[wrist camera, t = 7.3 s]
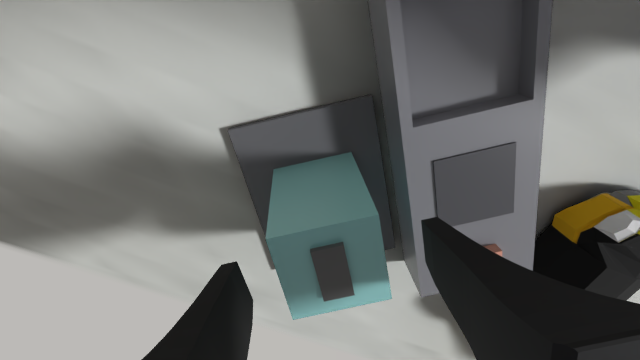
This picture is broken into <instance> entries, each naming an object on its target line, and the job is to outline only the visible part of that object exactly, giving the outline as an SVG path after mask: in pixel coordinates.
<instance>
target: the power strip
mask: <svg viewBox="0 0 640 360" xmlns="http://www.w3.org/2000/svg"><path fill="white" fill-rule="evenodd" d="M552 4H553V0H368V5H369V12H370V19H371V27H372V34H373V41H374V48H375V55H376V62H377V69H378V76H379V84H380V91H381V98H382V105H383V112H384V119H385V126H386V133H387V140H388V148H389V155H390V162H391V169H392V176H393V183H394V190H395V197H396V204H397V212H398V219H399V226H400V233H401V240H402V247H403V254H404V261H405V263H406V265H407V268H408V270H409V272H410V274H411V276H412V279H413V281H414V283H415V285H416V287H417V289H418V292H419V294H420V296H421V297H425V296H429V295H434V294H438V293H439V291H438V289H437V287H436V286H435V283H434V281H433V279H432V276H431V274H430V272H429V269H428V267H427V265H426V262H425V253H424V244H423V234H422V225H421V220H424V219H429V218H433V217H438V218H440V219H441V220H443V221H444V222H446V223H447V224H449V225H450V226H452V227H453V228H455V229H456V230H458V231H459V232H461V233H462V234H464V235H466V236H467V237H469V238H470V239H472V240H473V241H475V242H477V243H478V244H480V245H482V246H483V247H485V248H487V249H489V250H491V251H492V252H494V253H496V254H498V255H500V256H502V257H504V258H506V259H508V260H510V261H512V262H514V263H516V264H518V265H520V266H523V267H525V268H527V269H529V270H532V271H533V260H534V247H535V233H536V220H537V206H538V193H539V179H540V166H541V152H542V139H543V125H544V112H545V98H546V85H547V71H548V58H549V44H550V31H551V17H552Z"/></svg>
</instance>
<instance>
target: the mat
mask: <svg viewBox="0 0 640 360" xmlns="http://www.w3.org/2000/svg"><path fill="white" fill-rule="evenodd" d="M228 133H229V136H230V139H231V141H232V144H233V147H234V150H235V153H236V155H237V158H238V161H239V164H240V167H241V169H242V172H243V175H244V178H245V181H246V183H247V186H248V189H249V192H250V195H251V197H252V200H253V203H254V206H255V209H256V211H257V214H258V217H259V220H260V223H261V225H262V228H263V231H264V234H265V237H266V230H267V222H268V213H269V204H270V196H271V187H272V179H273V170H274V169H277V168H282V167H286V166H290V165H295V164H299V163H304V162H308V161H313V160H317V159H322V158H326V157H331V156H335V155H340V154H344V153H349V152H352V155H353V157H354V159H355V162H356V164H357V166H358V168H359V171H360V173H361V175H362V177H363V180H364V182H365V184H366V187H367V189H368V191H369V193H370V196H371V198H372V200H373V202H374V205H375V207H376V209H377V212H378V214H379V219H380V226H381V232H382V238H383V245H384V250H387V249H391V248H395V242H394V236H393V229H392V223H391V216H390V210H389V203H388V196H387V190H386V183H385V177H384V170H383V164H382V157H381V150H380V144H379V137H378V131H377V124H376V118H375V111H374V104H373V98H372V95H371V94H370V95H366V96H362V97H358V98H354V99H349V100H345V101H341V102H337V103H333V104H329V105H324V106H320V107H316V108H312V109H308V110H303V111H299V112H295V113H291V114H287V115H283V116H278V117H274V118H270V119H266V120H262V121H258V122H253V123H249V124H245V125H241V126H237V127H232V128H229V129H228Z"/></svg>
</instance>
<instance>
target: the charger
mask: <svg viewBox="0 0 640 360" xmlns="http://www.w3.org/2000/svg"><path fill="white" fill-rule="evenodd" d="M266 242H267V245H268V248H269V251H270V254H271V257H272V260H273V263H274V266H275V269H276V271H277V274H278V277H279V280H280V283H281V286H282V289H283V292H284V295H285V298H286V301H287V304H288V306H289V309H290V312H291V315H292V318H293V320H295V319H299V318H304V317H309V316H313V315H318V314H323V313H328V312H332V311H337V310H342V309H346V308H351V307H356V306H360V305H365V304H370V303H374V302H379V301H384V300H389V299H392V296H391V290H390V283H389V277H388V271H387V264H386V258H385V251H384V245H383V238H382V232H381V226H380V219H379V214H378V212H377V209H376V207H375V205H374V202H373V200H372V198H371V196H370V193H369V191H368V189H367V187H366V184H365V182H364V180H363V177H362V175H361V173H360V171H359V168H358V166H357V164H356V162H355V159H354V157H353V155H352V152H349V153H344V154H340V155H335V156H331V157H326V158H322V159H317V160H313V161H308V162H304V163H299V164H295V165H290V166H286V167H282V168H277V169H274V170H273V179H272V187H271V196H270V204H269V213H268V222H267V230H266Z"/></svg>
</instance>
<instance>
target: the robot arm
mask: <svg viewBox="0 0 640 360" xmlns="http://www.w3.org/2000/svg"><path fill="white" fill-rule="evenodd" d="M421 225H422V234H423V244H424V253H425V262H426V265H427V267H428V269H429V272H430V274H431V276H432V279H433V281H434V283H435V286H436V287H437V289H438V291H439V293H440V294H441V296H442V298H443V299H444V301H445V303H446V305H447V306H448V308H449V310H450V311H451V313H452V315H453V317H454V318H455V320H456V322H457V323H458V325H459V327H460V328H461V330H462V332H463V334H464V335H465V337H466V339H467V341H468V343H469V345H470V346H471V348H472V350H473V353H474V355H475V357H476V359H477V360H640V304H637V303H633V302H629V301H625V300H620V299H616V298H612V297H608V296H604V295H601V294H598V293H594V292H591V291H587V290H584V289H581V288H578V287H575V286H572V285H568V284H565V283H563V282H560V281H557V280H555V279H552V278H549V277H546V276H544V275H541V274H539V273H536V272H534V271H532V270H529V269H527V268H525V267H523V266H520V265H518V264H516V263H514V262H512V261H510V260H508V259H506V258H504V257H502V256H500V255H498V254H496V253H494V252H492V251H491V250H489V249H487V248H485V247H483V246H482V245H480V244H478V243H477V242H475V241H473V240H472V239H470V238H469V237H467V236H466V235H464V234H462V233H461V232H459V231H458V230H456V229H455V228H453V227H452V226H450V225H449V224H447V223H446V222H444V221H443V220H441V219H440V218H438V217H433V218H429V219H424V220H421ZM252 319H253V299H252V296H251V294H250V292H249V289H248V287H247V285H246V282H245V280H244V277H243V275H242V273H241V270H240V268H239V266H238V263H237V261H236V262H232V263H227V264H223V265H221V266H220V267H219V269H218V270H217V271H216V273H215V274H214V275H213V277H212V278H211V279H210V281H209V282H208V284H207V285H206V286H205V288H204V289H203V290H202V292H201V293H200V294H199V296H198V297H197V298H196V300H195V301H194V302H193V304H192V305H191V306H190V307H189V309H188V310H187V311H186V312H185V313H184V315H183V316H182V317H181V318H180V319H179V321H178V322H177V323H176V324H175V325H174V327H173V328H172V329H171V330H170V331H169V332H168V333H167V335H166V336H165V337H164V338H163V339H162V340H161V341H160V342H159V343H158V344H157V345H156V346H155V347H154V348H153V349H152V350H151V351H150V352H149V353H148V354H147V355H146V356H145V357H144V358H143V359H142V360H247V356H248V349H249V343H250V337H251V330H252Z"/></svg>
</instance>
